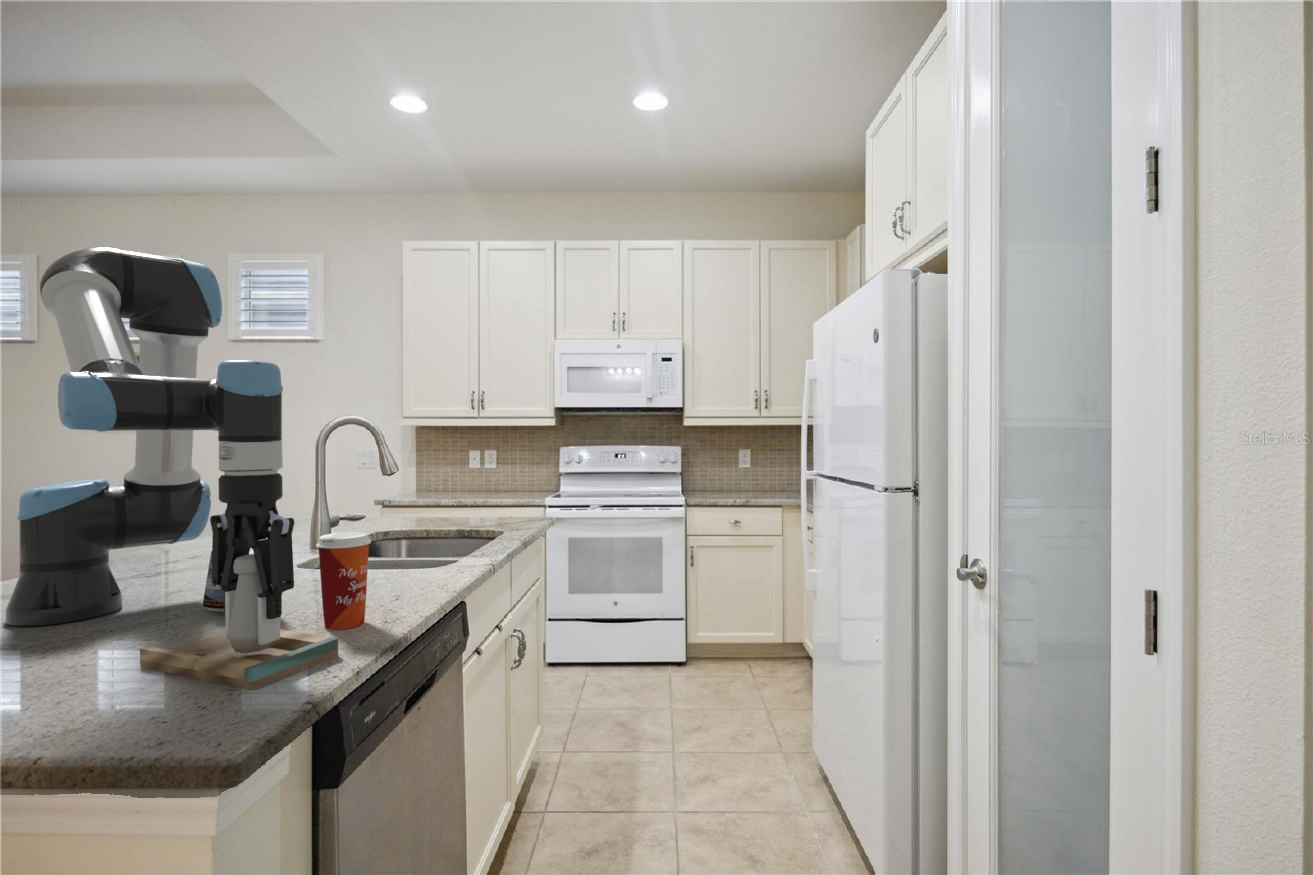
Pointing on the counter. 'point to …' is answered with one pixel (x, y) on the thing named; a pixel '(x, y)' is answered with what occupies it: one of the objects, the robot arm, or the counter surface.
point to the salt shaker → (246, 607)
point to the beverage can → (213, 593)
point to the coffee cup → (343, 578)
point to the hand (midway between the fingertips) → (252, 638)
